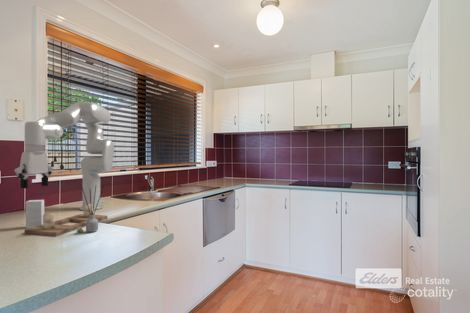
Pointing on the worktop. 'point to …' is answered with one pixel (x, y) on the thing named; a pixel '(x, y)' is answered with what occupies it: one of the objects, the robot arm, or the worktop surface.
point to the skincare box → (34, 213)
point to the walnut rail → (55, 227)
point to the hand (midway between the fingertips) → (34, 186)
